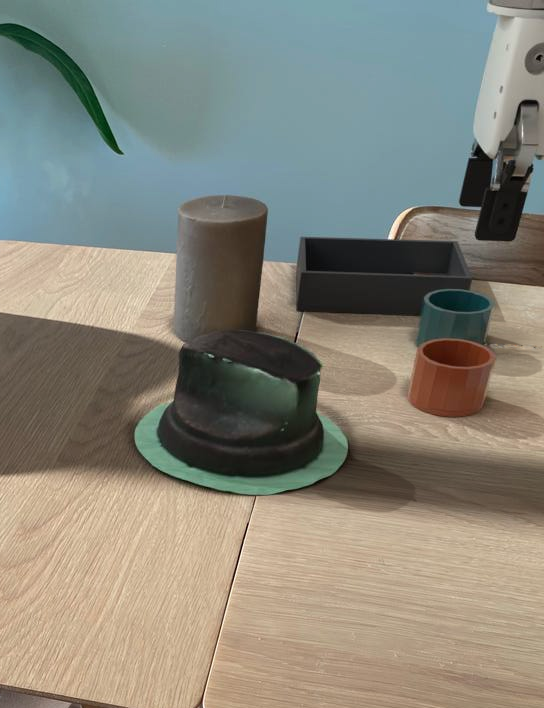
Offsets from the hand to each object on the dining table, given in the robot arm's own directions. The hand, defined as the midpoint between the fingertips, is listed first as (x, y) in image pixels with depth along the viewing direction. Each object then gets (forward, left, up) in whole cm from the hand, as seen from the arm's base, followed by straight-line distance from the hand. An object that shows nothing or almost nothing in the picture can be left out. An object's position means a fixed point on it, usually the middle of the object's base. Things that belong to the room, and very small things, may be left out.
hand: (484, 222), depth 86 cm
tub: (+4, -31, -18) cm, 36 cm away
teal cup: (-3, -16, -18) cm, 24 cm away
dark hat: (+19, +9, -18) cm, 28 cm away
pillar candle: (+23, -17, -18) cm, 34 cm away
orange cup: (-1, -2, -18) cm, 18 cm away
